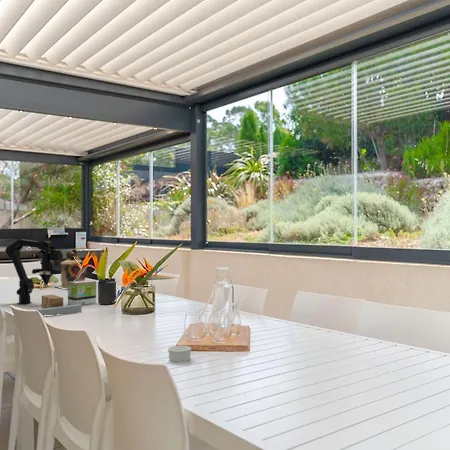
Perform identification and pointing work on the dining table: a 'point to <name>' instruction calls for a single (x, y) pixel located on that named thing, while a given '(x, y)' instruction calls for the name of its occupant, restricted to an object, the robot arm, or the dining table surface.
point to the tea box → (81, 292)
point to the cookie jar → (70, 269)
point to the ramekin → (179, 353)
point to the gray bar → (61, 310)
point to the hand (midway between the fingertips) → (46, 284)
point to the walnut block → (51, 301)
